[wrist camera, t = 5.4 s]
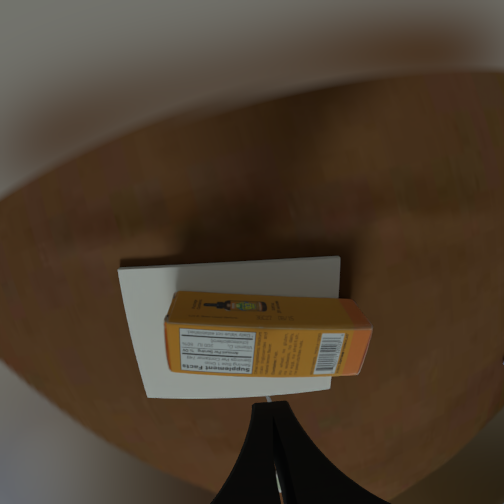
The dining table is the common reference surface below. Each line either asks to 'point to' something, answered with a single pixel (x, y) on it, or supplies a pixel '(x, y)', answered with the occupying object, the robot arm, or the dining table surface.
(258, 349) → the supplement box
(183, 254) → the dining table surface
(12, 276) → the dining table surface
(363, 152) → the dining table surface
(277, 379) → the mat
